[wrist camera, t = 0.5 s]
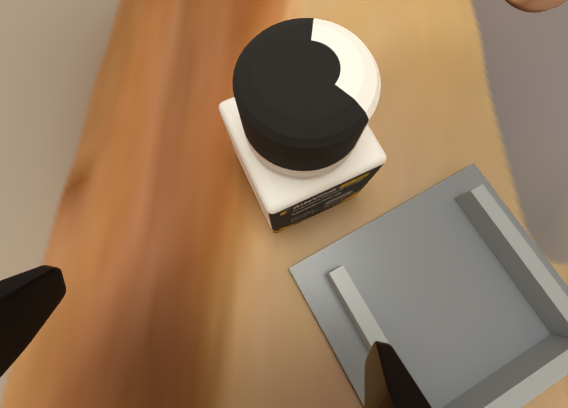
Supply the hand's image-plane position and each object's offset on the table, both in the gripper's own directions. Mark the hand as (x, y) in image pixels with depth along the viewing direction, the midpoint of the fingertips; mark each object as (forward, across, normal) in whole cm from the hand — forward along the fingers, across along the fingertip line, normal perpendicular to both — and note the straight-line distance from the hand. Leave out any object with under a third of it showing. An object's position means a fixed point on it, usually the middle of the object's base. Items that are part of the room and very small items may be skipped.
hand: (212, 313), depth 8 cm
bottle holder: (+11, -12, +7) cm, 18 cm away
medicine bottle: (+16, -1, +2) cm, 16 cm away
